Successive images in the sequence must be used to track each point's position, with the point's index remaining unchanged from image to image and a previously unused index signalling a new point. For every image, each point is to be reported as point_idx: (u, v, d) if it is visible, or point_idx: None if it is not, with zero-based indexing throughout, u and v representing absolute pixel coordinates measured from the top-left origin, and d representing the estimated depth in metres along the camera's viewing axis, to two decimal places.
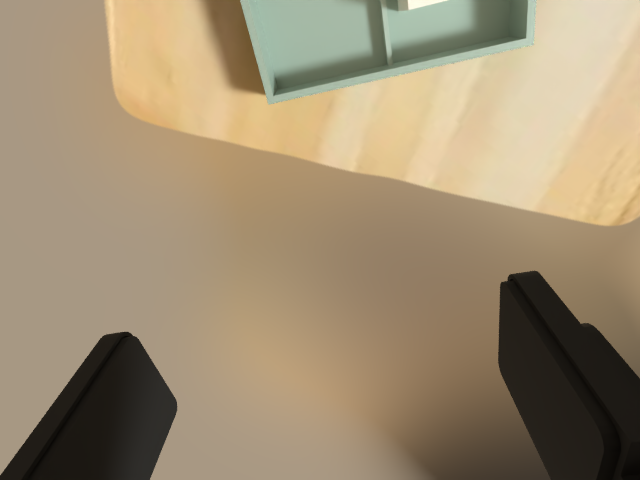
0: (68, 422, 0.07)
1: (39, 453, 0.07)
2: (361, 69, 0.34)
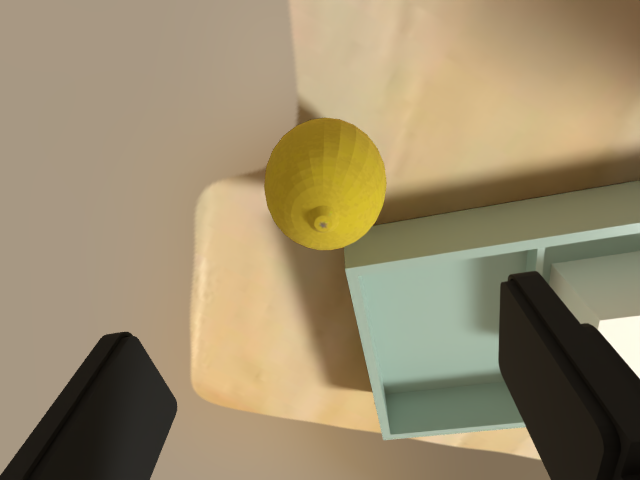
0: (68, 422, 0.07)
1: (39, 453, 0.07)
2: (486, 382, 0.29)
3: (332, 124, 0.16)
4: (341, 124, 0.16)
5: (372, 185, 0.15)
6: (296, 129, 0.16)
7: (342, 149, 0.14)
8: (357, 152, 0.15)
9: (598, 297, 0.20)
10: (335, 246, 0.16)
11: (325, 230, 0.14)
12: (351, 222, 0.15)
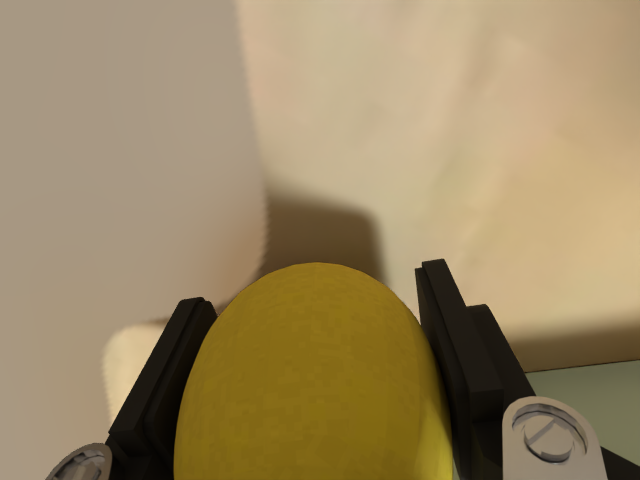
0: (168, 371, 0.08)
1: (150, 394, 0.07)
2: None
3: (331, 315, 0.07)
4: (351, 311, 0.07)
5: None
6: (247, 319, 0.07)
7: (358, 427, 0.05)
8: (397, 420, 0.06)
9: None
10: None
11: None
12: None
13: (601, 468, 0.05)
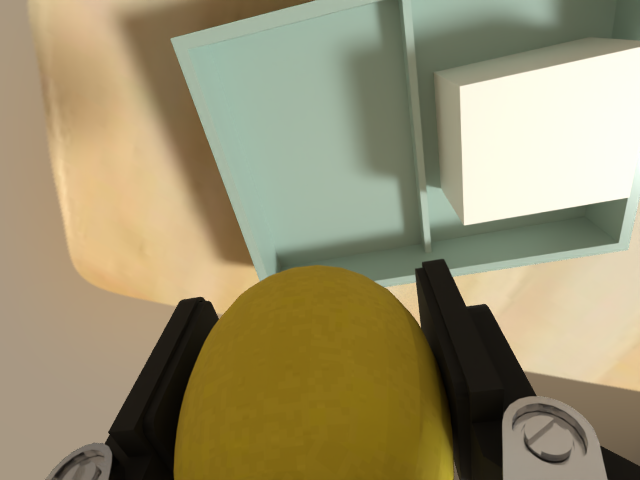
0: (168, 371, 0.08)
1: (150, 394, 0.07)
2: (389, 248, 0.27)
3: (331, 319, 0.07)
4: (351, 315, 0.07)
5: None
6: (247, 323, 0.07)
7: (358, 431, 0.05)
8: (398, 425, 0.06)
9: (467, 77, 0.18)
10: None
11: None
12: None
13: (601, 468, 0.05)
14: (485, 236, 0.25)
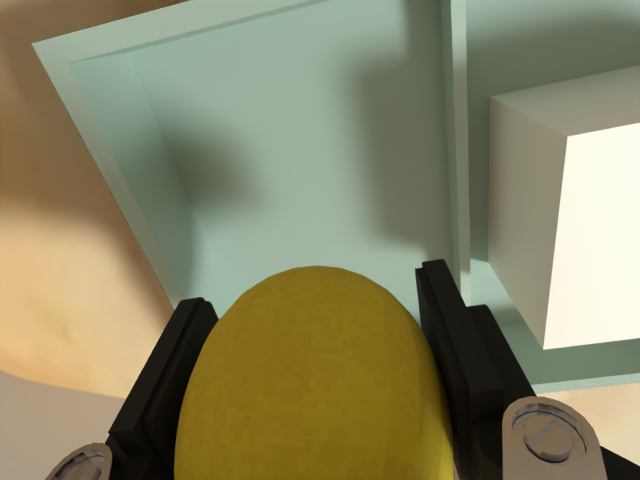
0: (168, 371, 0.08)
1: (150, 395, 0.07)
2: None
3: (331, 320, 0.07)
4: (352, 316, 0.07)
5: None
6: (248, 323, 0.07)
7: (358, 433, 0.05)
8: (398, 425, 0.06)
9: (568, 113, 0.10)
10: None
11: None
12: None
13: (601, 468, 0.05)
14: None
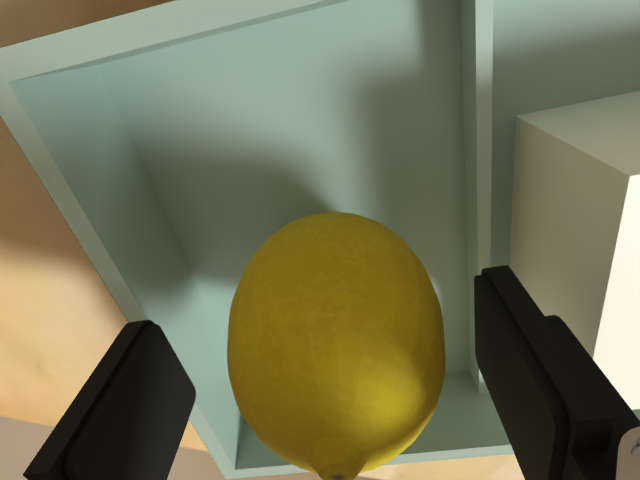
0: (99, 404, 0.08)
1: (74, 431, 0.07)
2: None
3: (349, 240, 0.09)
4: (365, 238, 0.09)
5: (432, 372, 0.08)
6: (283, 246, 0.09)
7: (374, 309, 0.07)
8: (402, 307, 0.08)
9: (621, 143, 0.08)
10: None
11: None
12: (393, 451, 0.07)
13: None
14: None
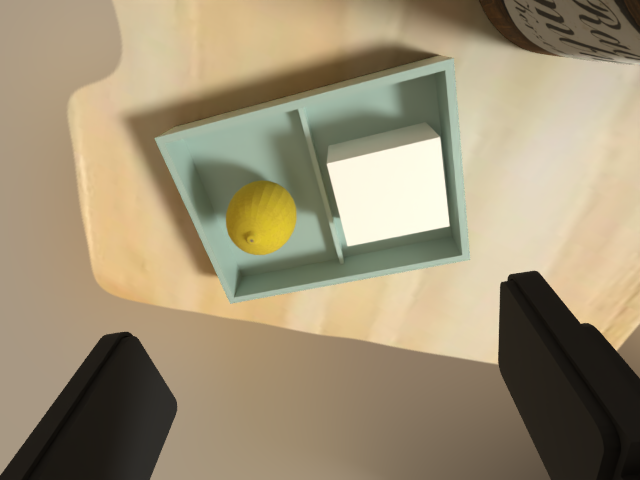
0: (68, 422, 0.07)
1: (39, 453, 0.07)
2: (317, 261, 0.37)
3: (261, 185, 0.29)
4: (266, 185, 0.29)
5: (280, 218, 0.28)
6: (242, 188, 0.29)
7: (262, 200, 0.27)
8: (271, 201, 0.28)
9: (337, 155, 0.28)
10: (263, 252, 0.29)
11: (253, 243, 0.27)
12: (268, 238, 0.27)
13: None
14: (382, 252, 0.36)
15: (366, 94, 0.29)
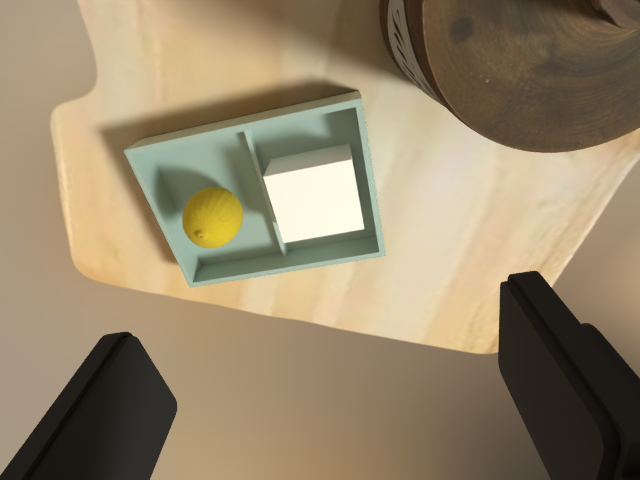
0: (68, 422, 0.07)
1: (39, 452, 0.07)
2: (265, 254, 0.44)
3: (211, 192, 0.35)
4: (216, 191, 0.35)
5: (225, 219, 0.34)
6: (196, 193, 0.36)
7: (211, 204, 0.34)
8: (219, 205, 0.34)
9: (274, 169, 0.35)
10: (212, 246, 0.35)
11: (202, 239, 0.34)
12: (215, 235, 0.34)
13: None
14: (319, 247, 0.43)
15: (300, 119, 0.36)
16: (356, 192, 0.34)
